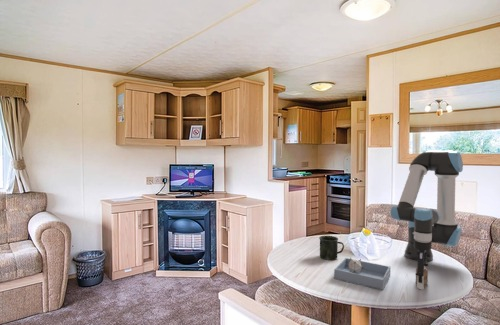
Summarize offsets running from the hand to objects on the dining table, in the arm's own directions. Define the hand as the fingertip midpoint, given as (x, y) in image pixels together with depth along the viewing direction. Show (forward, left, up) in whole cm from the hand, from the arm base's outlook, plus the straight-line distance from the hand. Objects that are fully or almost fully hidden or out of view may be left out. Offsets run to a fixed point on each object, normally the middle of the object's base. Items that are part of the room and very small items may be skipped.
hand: (421, 283), depth 151 cm
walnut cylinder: (0, 0, 0) cm, 0 cm away
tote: (+8, -26, 0) cm, 27 cm away
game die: (+8, -30, 0) cm, 31 cm away
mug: (-11, -49, 0) cm, 50 cm away
